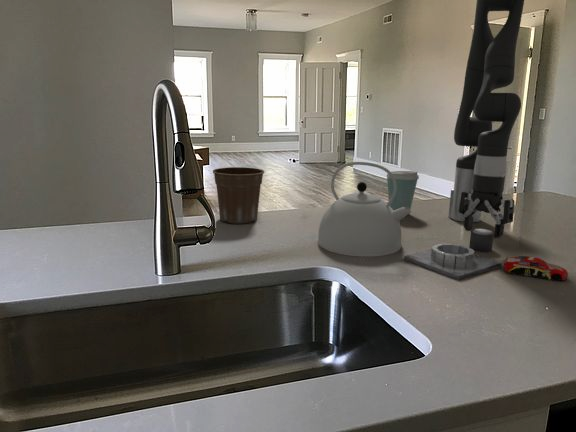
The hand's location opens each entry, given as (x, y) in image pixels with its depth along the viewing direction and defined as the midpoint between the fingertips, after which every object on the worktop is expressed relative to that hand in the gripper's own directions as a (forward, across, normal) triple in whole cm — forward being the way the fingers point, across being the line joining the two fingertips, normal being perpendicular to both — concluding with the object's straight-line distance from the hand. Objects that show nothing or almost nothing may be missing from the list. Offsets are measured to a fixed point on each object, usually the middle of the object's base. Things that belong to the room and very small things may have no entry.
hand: (482, 234), depth 124 cm
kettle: (+5, -21, -23) cm, 31 cm away
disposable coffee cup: (+4, -39, +11) cm, 41 cm away
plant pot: (+4, -61, -40) cm, 73 cm away
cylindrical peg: (+4, 0, 0) cm, 4 cm away
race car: (+5, +18, -6) cm, 19 cm away
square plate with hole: (+4, +3, -16) cm, 17 cm away
